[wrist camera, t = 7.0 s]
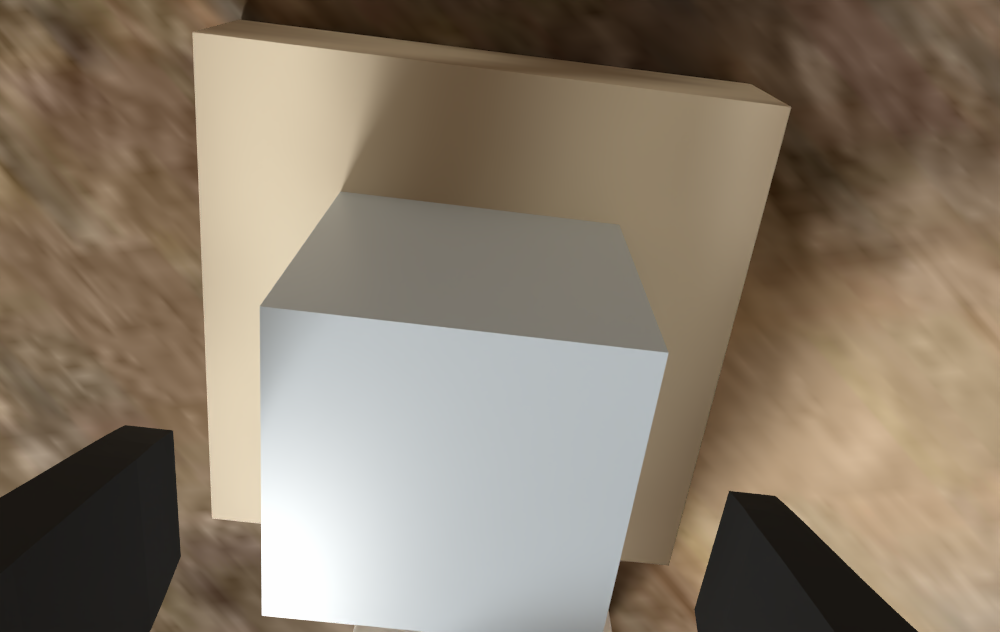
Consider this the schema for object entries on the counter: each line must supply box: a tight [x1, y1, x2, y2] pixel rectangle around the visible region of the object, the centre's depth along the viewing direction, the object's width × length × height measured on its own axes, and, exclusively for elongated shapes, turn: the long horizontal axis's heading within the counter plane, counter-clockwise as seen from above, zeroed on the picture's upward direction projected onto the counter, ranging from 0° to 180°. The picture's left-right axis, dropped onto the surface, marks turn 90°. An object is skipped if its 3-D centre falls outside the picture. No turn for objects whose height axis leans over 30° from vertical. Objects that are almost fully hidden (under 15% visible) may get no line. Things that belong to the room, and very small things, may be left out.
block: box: [260, 191, 669, 632], centre depth 13 cm, size 5×5×5 cm
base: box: [193, 20, 791, 565], centre depth 16 cm, size 10×10×2 cm
